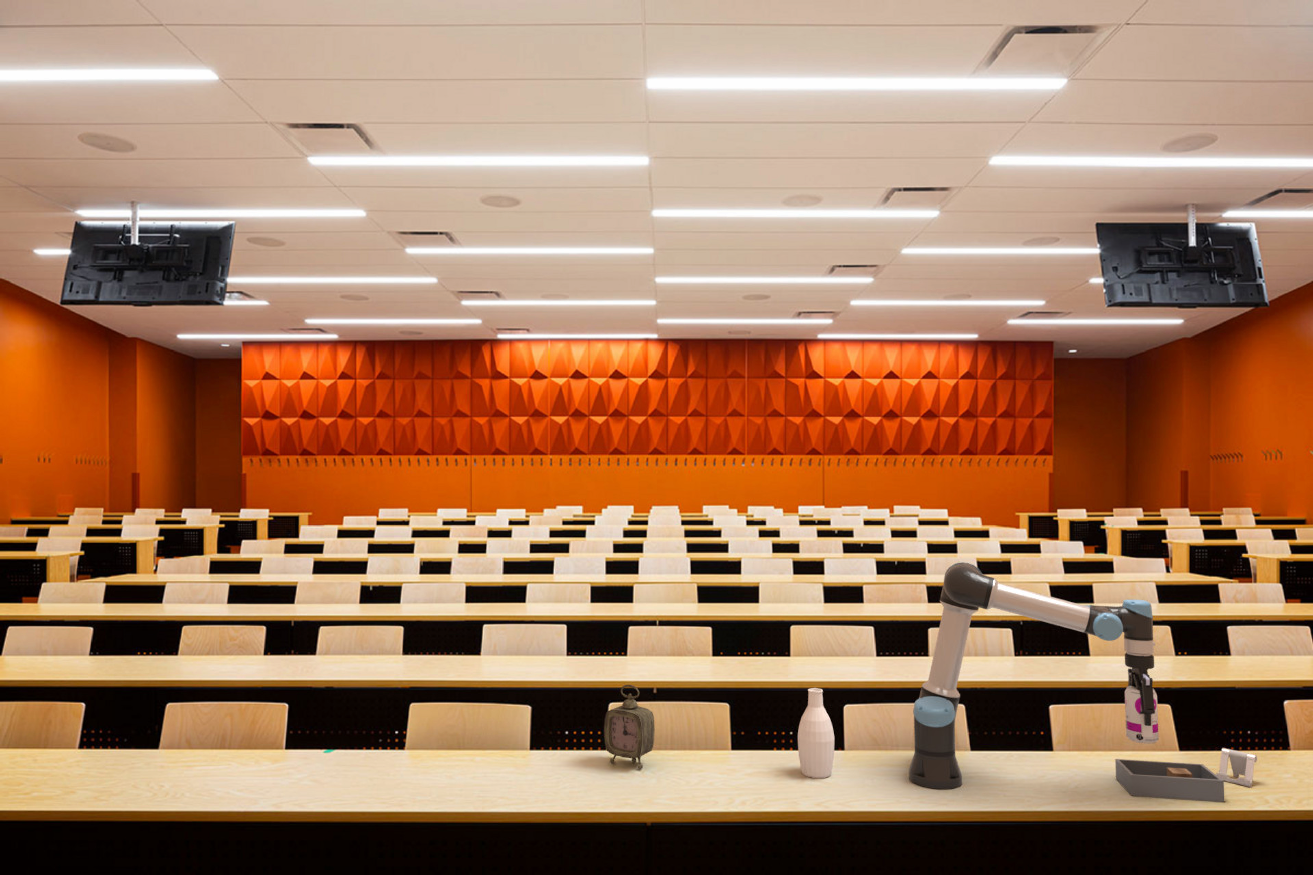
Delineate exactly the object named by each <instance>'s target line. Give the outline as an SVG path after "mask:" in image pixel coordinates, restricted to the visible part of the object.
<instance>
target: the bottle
mask: <svg viewBox="0 0 1313 875" xmlns="http://www.w3.org/2000/svg"><path fill="white" fill-rule="evenodd" d="M807 691H808V694H807V696H808V698H807V700H808V701H807V706H806V708H805V710H804V712H803V714H802V716H801V718H800V721H799V725H798V732H797V750H798V758H799V759H798V760H799V765H800V770H801V773H802V774H803V775H804V776H805V777H807V778H810V777H812V779H826V778H829V777H831V775H832V772H833V768H834V767H833V766H834V759H835V734H834V728H833V723H832V721H831V718H830V716H829V714H828V713H827V710H826V708H825V706H824V697H823V693H824V691H823V689H822V688H817V687H812V688H808V689H807Z"/></svg>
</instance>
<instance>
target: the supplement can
mask: <svg viewBox="0 0 1313 875" xmlns="http://www.w3.org/2000/svg"><path fill="white" fill-rule="evenodd" d="M1153 698H1154V708H1155V714H1152V729H1153V737H1142V734H1141V714H1140V713H1139V712H1140V711H1142V708H1141V696H1140V690H1137V689H1136V687H1133V686H1132V685H1130V686H1128V685H1127V686H1126V689H1125V690H1124V705H1125V706H1124V710H1125V714H1124V715H1125V736H1126V737H1127V738H1128V740H1130V741H1132V742H1135V743H1139V744H1155V743H1157V742H1158V741H1159V738H1160V736H1159V735H1160V734H1159V713H1158V695H1157V692H1156V690H1155V689H1154V687H1153Z"/></svg>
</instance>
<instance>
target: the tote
mask: <svg viewBox="0 0 1313 875" xmlns="http://www.w3.org/2000/svg"><path fill="white" fill-rule="evenodd" d="M1114 760H1115V761H1114V762H1115V779H1116V780H1117V781H1118V782H1119V784H1120V785H1121V786H1122V787H1123V789H1125V790H1126V792H1128V793H1129V795H1130V796H1131V797H1144V798H1159V799H1174V800H1175V799H1176V800H1185V801H1187V800H1189V801H1203V802H1217V803H1218V802H1220V803H1225V781H1223V780H1222V779H1221V778H1219V777H1218V776H1217V775H1216V773H1215V772H1214V771H1212V770H1211V769H1209V768H1208V766H1207V767H1206V765H1204V764H1202V763H1192V762H1191V763H1189V762H1187V763H1186V762H1173V761H1170V762H1169V761H1157V760H1156V761H1154V760H1140V759H1139V760H1136V759H1123V758H1122V759H1120V758H1115V759H1114ZM1167 768H1183V769H1187V770H1188V771H1189V772H1190V773H1191V774H1192V777H1193V778H1184V777H1168V776H1167Z"/></svg>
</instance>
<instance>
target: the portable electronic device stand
mask: <svg viewBox="0 0 1313 875" xmlns="http://www.w3.org/2000/svg"><path fill="white" fill-rule="evenodd" d="M1229 761H1230V766H1231V771H1232V774H1233V777H1235V778H1232V777H1229V774H1228V765H1229ZM1257 762H1258V755H1257V754H1252V753H1247V752H1244V751H1239V750H1235V749H1230V748H1225V747H1222V748H1221V754H1220V760H1219V771H1217V772H1215V774H1216V775H1217V776H1218V777H1219V778H1221V779H1222V780H1223V781H1224V782H1227V783H1231V784H1236V785H1239V786H1244V787H1245V788H1252V786H1253V779H1254V778H1253V777H1254V769H1255V763H1257ZM1240 776H1244V778H1243V777H1240ZM1236 778H1237V779H1236Z"/></svg>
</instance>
